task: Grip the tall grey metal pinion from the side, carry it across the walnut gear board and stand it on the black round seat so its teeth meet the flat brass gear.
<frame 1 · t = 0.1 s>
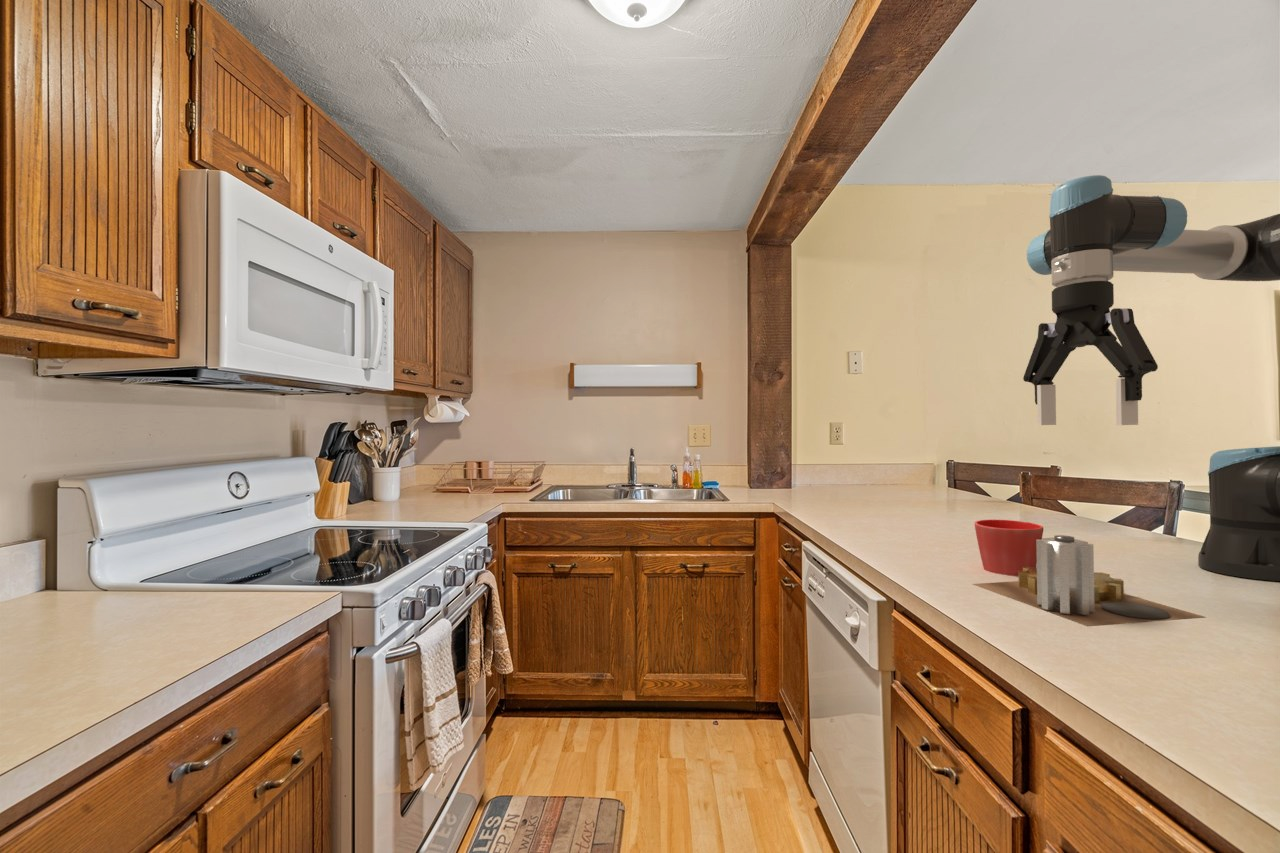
hand: (1084, 425, 90), 28 cm above the worktop, tool pointing down, fingers open, 13 cm apart
brass gear: (1069, 590, 97), resting on gear board
gear board: (1077, 605, 93), on the worktop
grey pinion: (1065, 608, 88), point 1 cm above the worktop, touching gear board
flower pot: (1008, 577, 111), on the worktop
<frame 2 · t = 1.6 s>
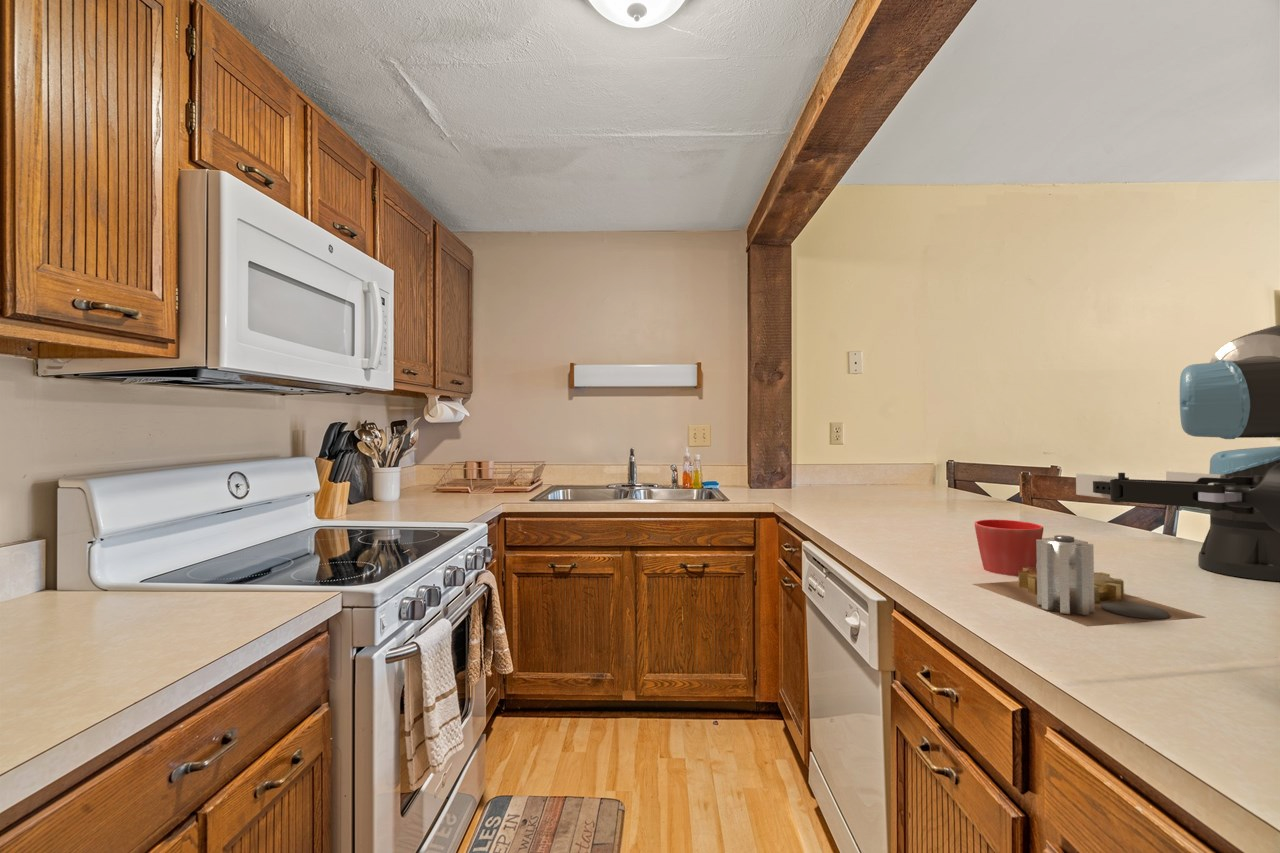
hand: (1123, 482, 78), 20 cm above the worktop, tool horizontal, fingers open, 13 cm apart
nothing on the worktop moved.
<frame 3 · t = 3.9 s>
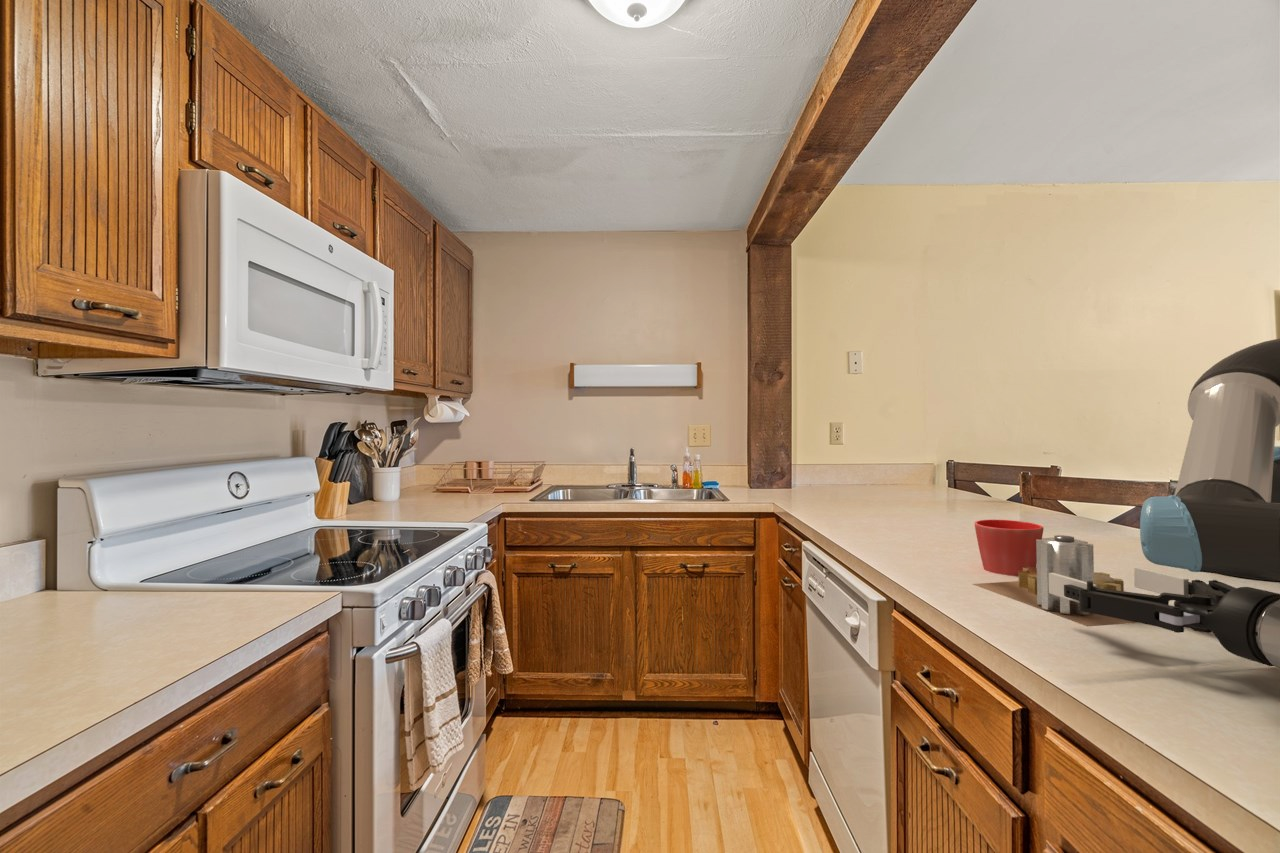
hand: (1094, 579, 82), 7 cm above the worktop, tool horizontal, fingers open, 13 cm apart
nothing on the worktop moved.
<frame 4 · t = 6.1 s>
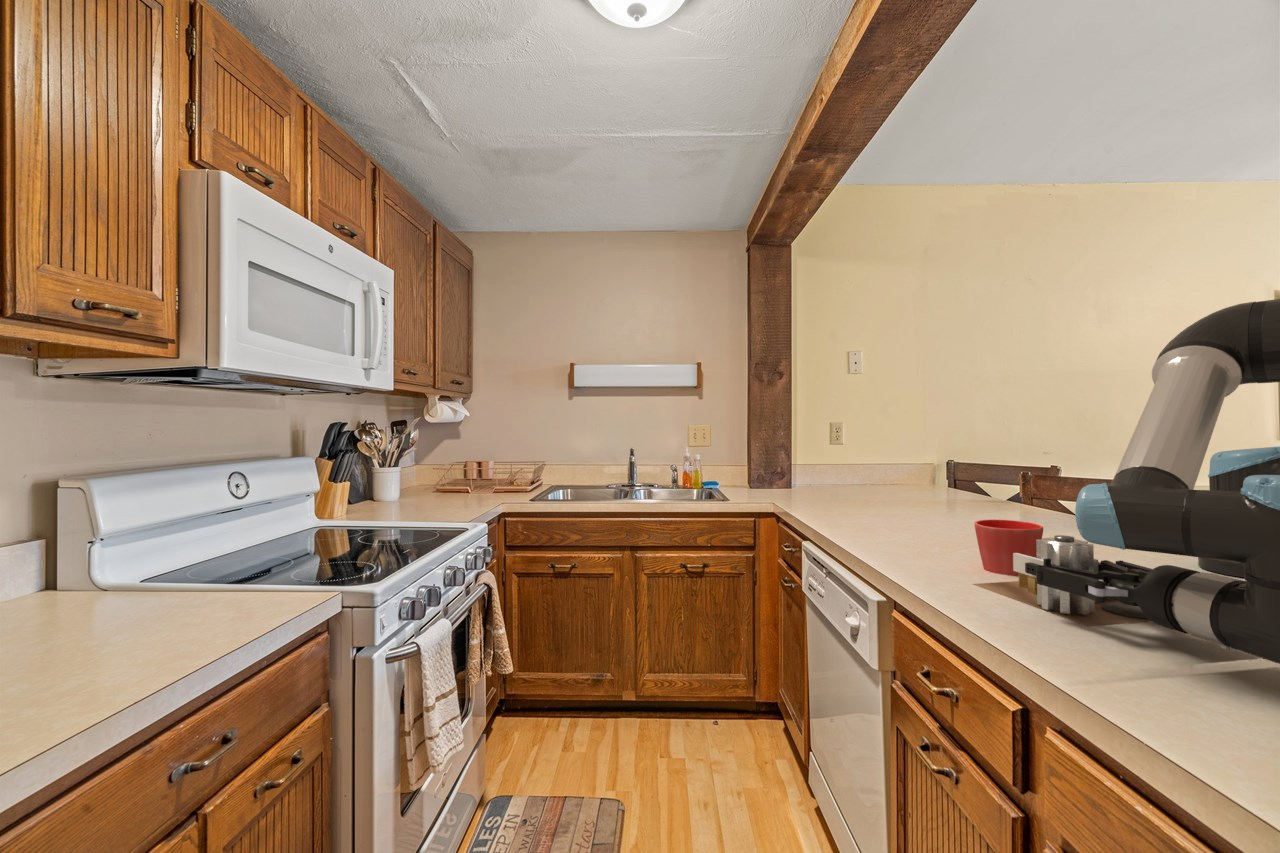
hand: (1037, 560, 93), 7 cm above the worktop, tool horizontal, fingers closed on grey pinion, 7 cm apart
grey pinion: (1065, 608, 88), point 1 cm above the worktop, touching gear board, gripper
everything else where it was.
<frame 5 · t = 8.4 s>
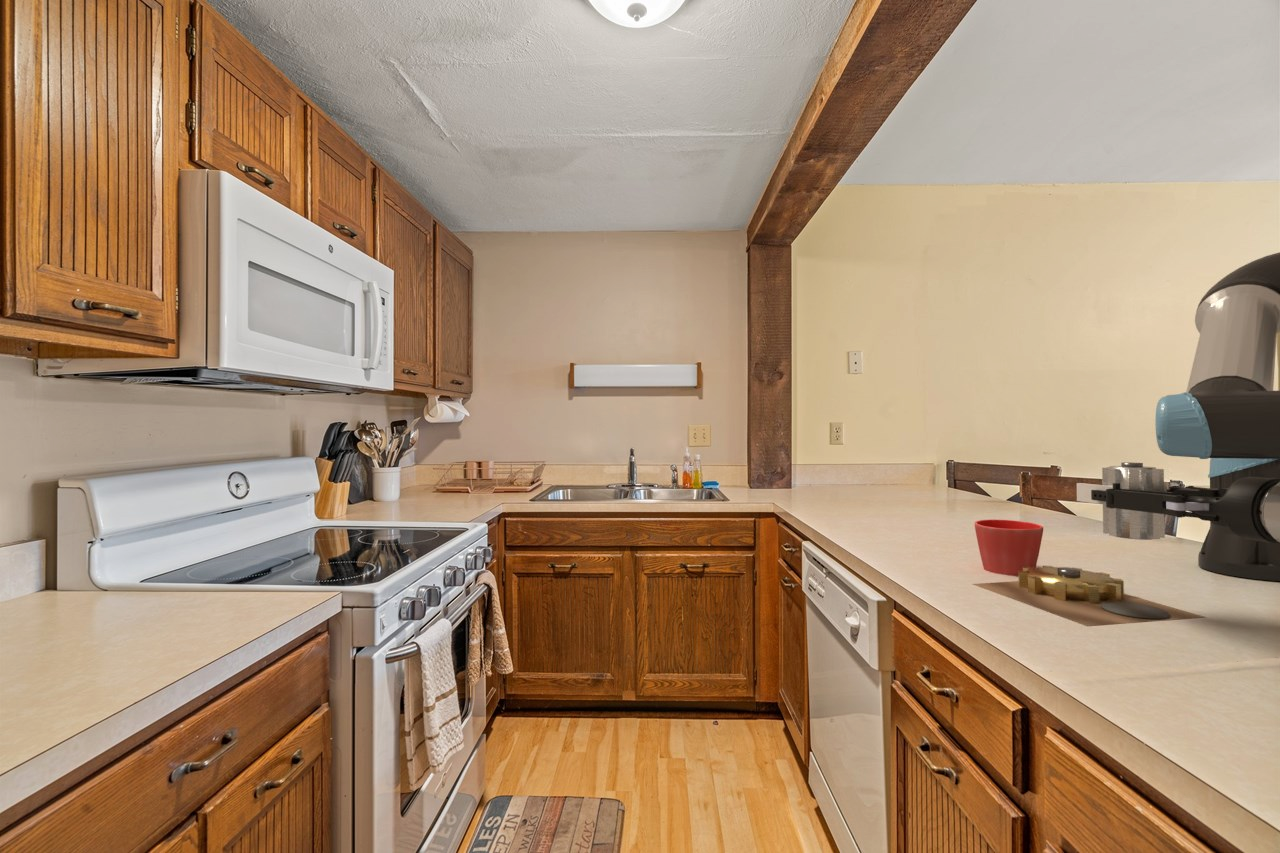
hand: (1100, 491, 91), 18 cm above the worktop, tool horizontal, fingers closed on grey pinion, 7 cm apart
grey pinion: (1133, 536, 86), point 12 cm above the worktop, touching gripper
everything else where it was.
when the fingers open (9 cm above the worktop, at t = 10.6 s): grey pinion drops 1 cm, resting on gear board.
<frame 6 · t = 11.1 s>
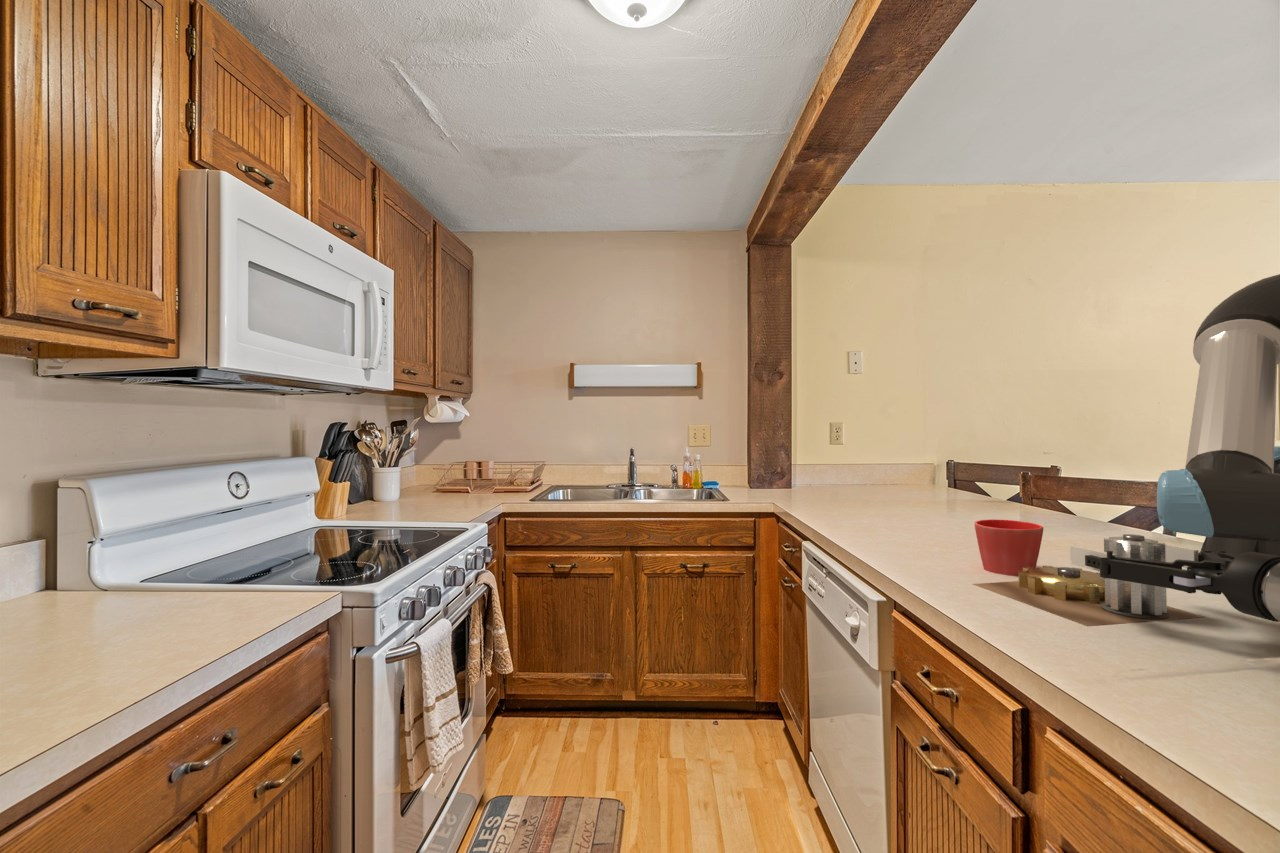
hand: (1111, 552, 89), 9 cm above the worktop, tool horizontal, fingers open, 13 cm apart
grey pinion: (1135, 609, 86), point 1 cm above the worktop, touching gear board
everything else where it was.
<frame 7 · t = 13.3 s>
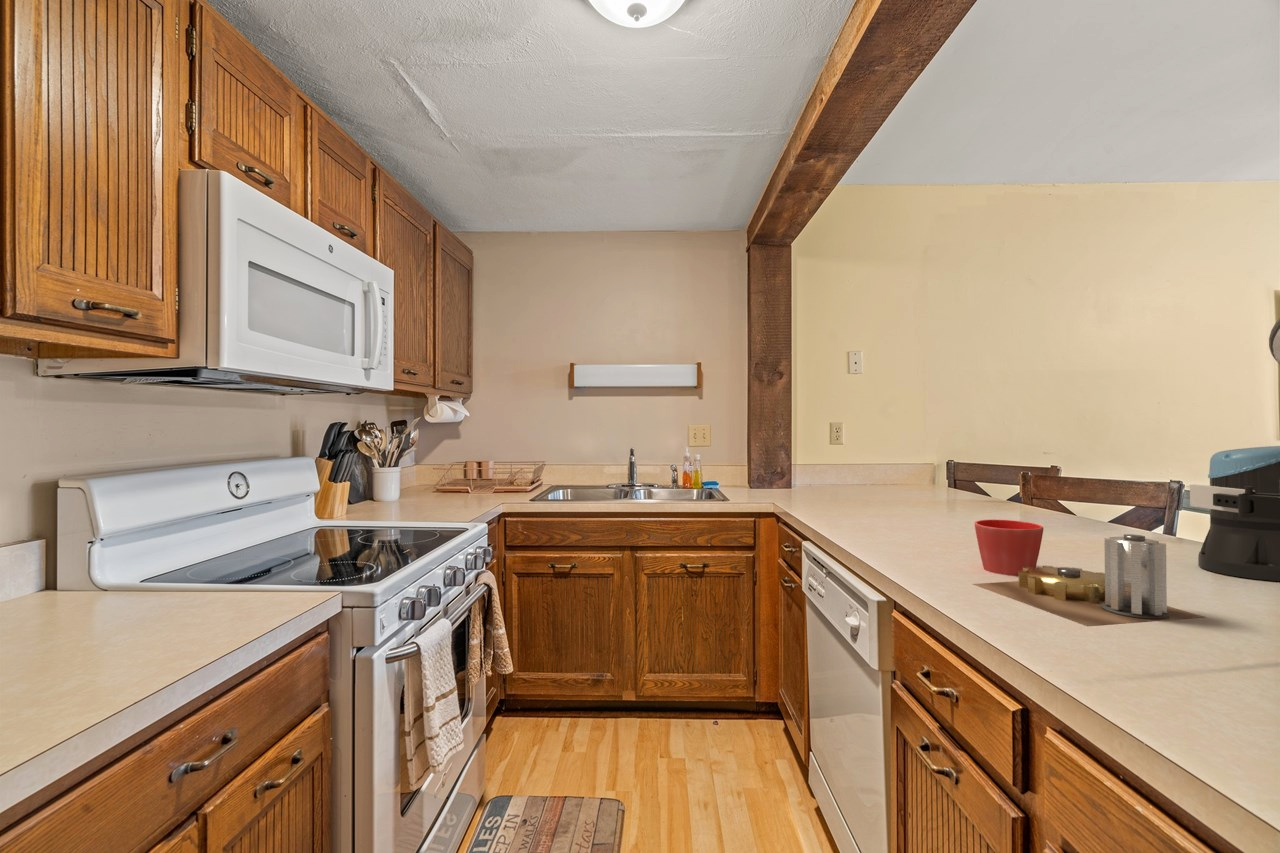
hand: (1237, 492, 76), 19 cm above the worktop, tool horizontal, fingers open, 13 cm apart
nothing on the worktop moved.
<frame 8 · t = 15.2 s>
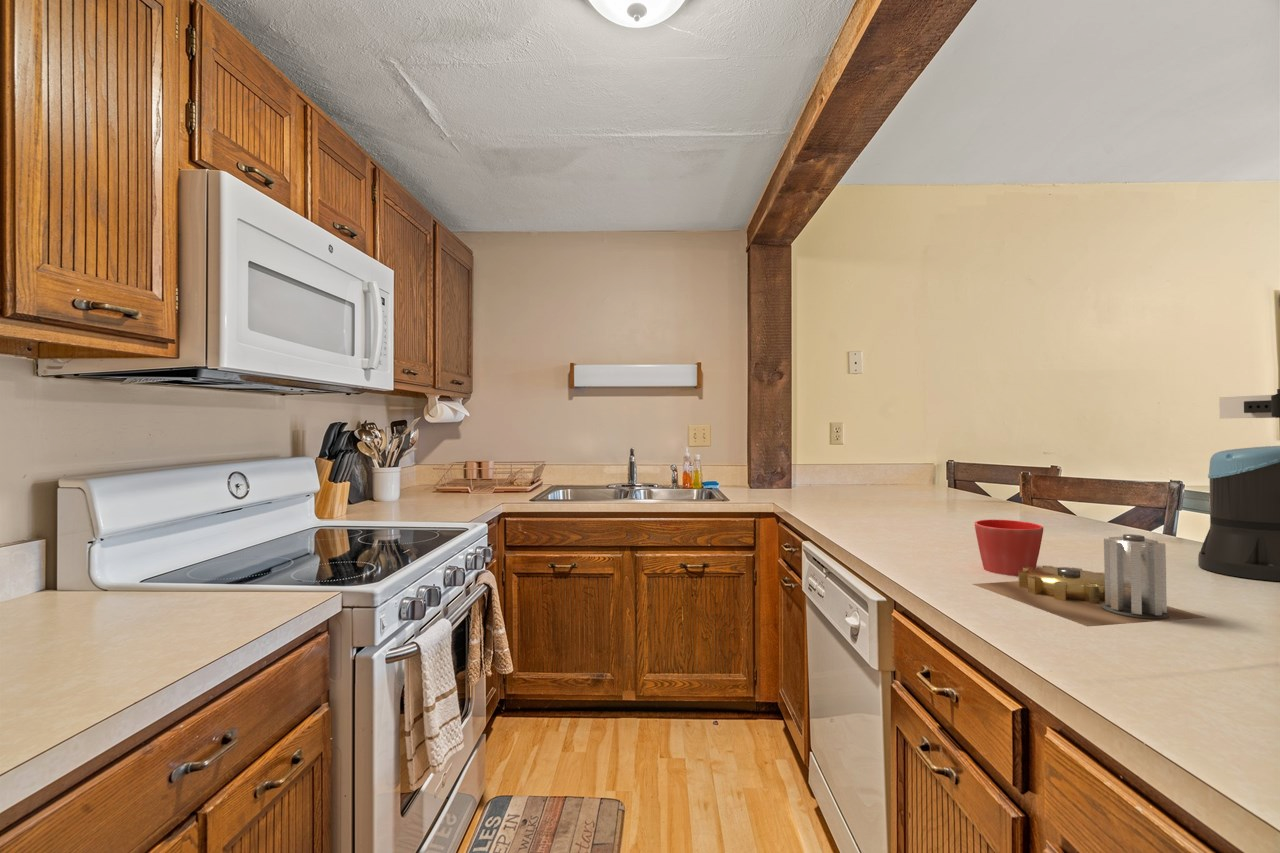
hand: (1265, 407, 77), 30 cm above the worktop, tool horizontal, fingers open, 13 cm apart
nothing on the worktop moved.
at the end: grey pinion 0.1 cm from the target spot on the gear board, point 1.3 cm above the gear board's base; grey pinion tilted 0°; the gripper is holding nothing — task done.
